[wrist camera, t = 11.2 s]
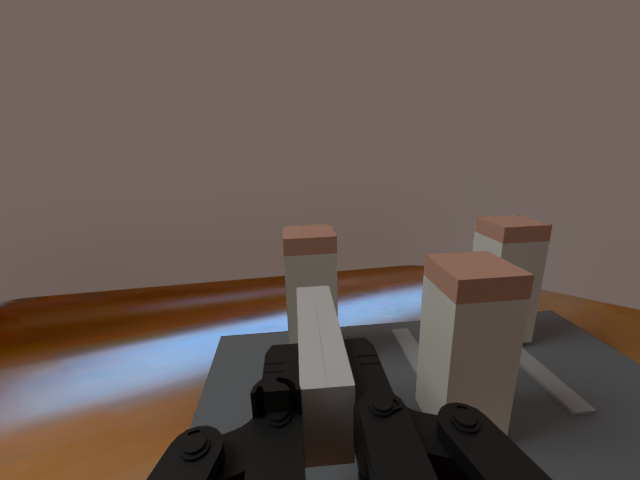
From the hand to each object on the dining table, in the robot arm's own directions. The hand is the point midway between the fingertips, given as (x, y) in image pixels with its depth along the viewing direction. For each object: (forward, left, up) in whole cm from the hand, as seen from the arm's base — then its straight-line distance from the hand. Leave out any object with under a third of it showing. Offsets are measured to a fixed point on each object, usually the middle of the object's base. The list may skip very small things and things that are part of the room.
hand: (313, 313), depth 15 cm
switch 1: (-13, -5, -5) cm, 15 cm away
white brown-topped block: (0, -5, -5) cm, 8 cm away
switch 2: (-7, +2, -5) cm, 9 cm away
